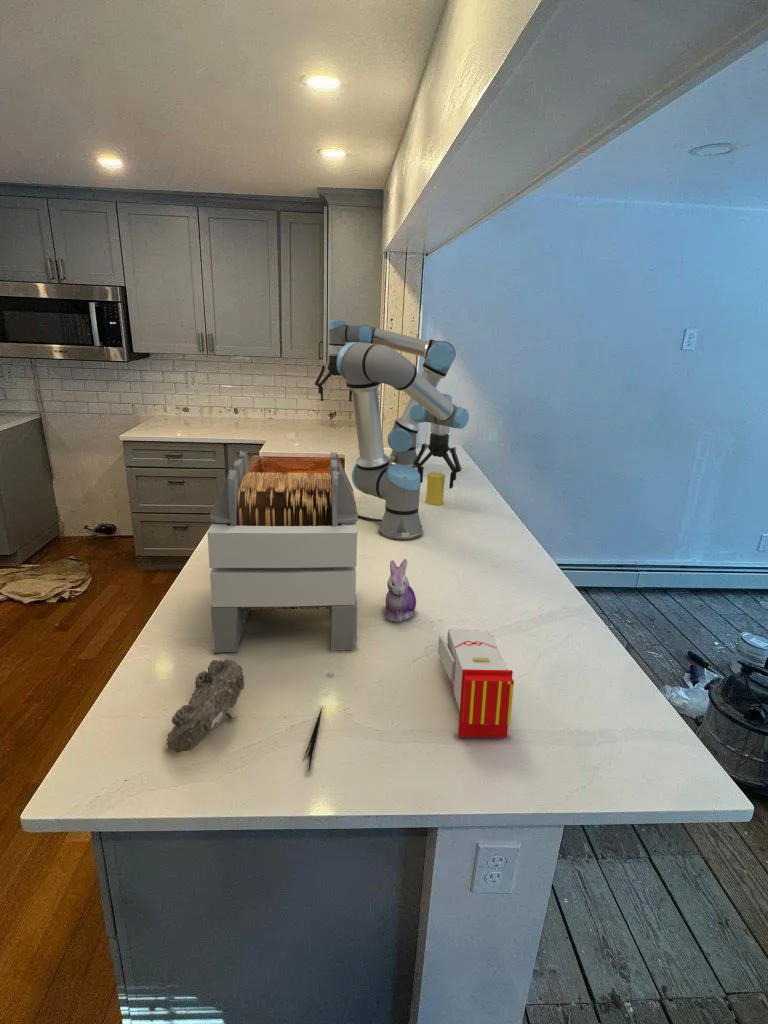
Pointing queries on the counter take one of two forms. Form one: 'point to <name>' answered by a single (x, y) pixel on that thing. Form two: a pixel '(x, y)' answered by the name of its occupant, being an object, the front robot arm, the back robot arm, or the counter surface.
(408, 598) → the figurine
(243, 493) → the grey record crate
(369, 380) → the front robot arm
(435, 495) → the tin
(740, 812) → the counter surface
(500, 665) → the toy
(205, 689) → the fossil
